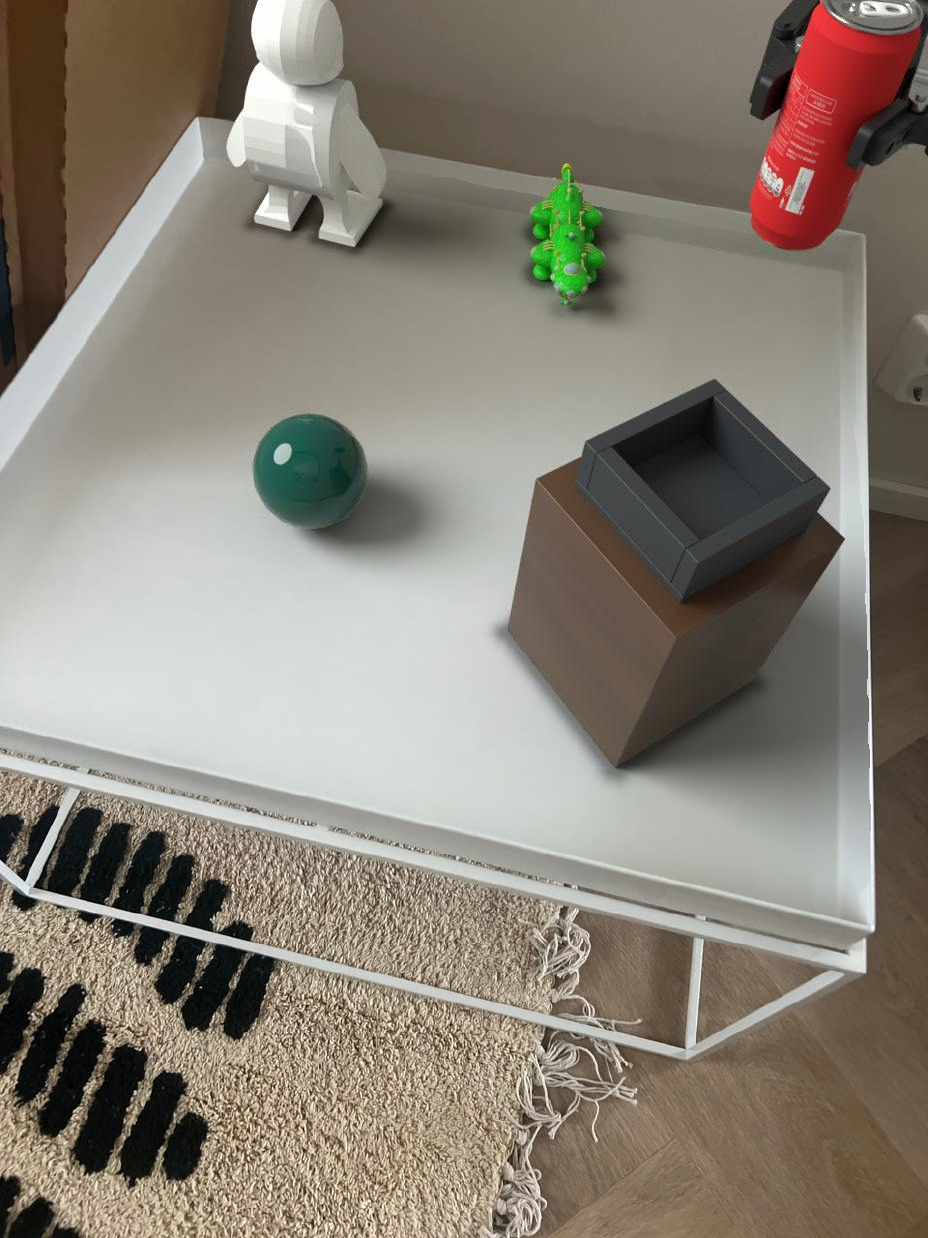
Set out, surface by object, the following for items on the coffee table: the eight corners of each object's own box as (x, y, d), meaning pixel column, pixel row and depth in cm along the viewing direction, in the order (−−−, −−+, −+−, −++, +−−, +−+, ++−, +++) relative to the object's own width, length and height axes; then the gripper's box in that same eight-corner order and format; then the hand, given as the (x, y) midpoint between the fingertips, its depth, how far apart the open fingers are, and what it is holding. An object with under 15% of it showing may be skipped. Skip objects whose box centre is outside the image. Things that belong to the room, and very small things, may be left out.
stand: (641, 556, 71) (700, 397, 57) (753, 680, 66) (846, 538, 53) (506, 630, 67) (535, 478, 53) (614, 768, 62) (676, 639, 48)
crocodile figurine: (528, 319, 84) (534, 278, 80) (527, 190, 93) (532, 148, 90) (604, 325, 84) (614, 284, 80) (596, 195, 93) (604, 153, 90)
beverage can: (739, 195, 58) (810, -27, 47) (826, 201, 58) (916, -19, 48) (749, 252, 55) (828, 29, 45) (841, 258, 55) (940, 38, 45)
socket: (697, 423, 56) (714, 377, 53) (806, 531, 53) (831, 488, 50) (573, 485, 53) (584, 440, 50) (680, 604, 50) (698, 563, 47)
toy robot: (401, 208, 91) (403, -27, 74) (369, 268, 86) (363, 32, 69) (261, 174, 92) (231, -64, 75) (222, 231, 87) (180, -9, 70)
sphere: (256, 552, 69) (241, 478, 62) (262, 465, 73) (249, 387, 67) (369, 551, 70) (367, 478, 63) (369, 465, 74) (367, 388, 67)
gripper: (886, -110, 55) (711, -12, 48) (1127, -11, 51) (973, 114, 44) (836, 28, 62) (675, 133, 55) (1046, 127, 57) (900, 256, 50)
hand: (808, 124), depth 49 cm, fingers closed on beverage can, 5 cm apart
